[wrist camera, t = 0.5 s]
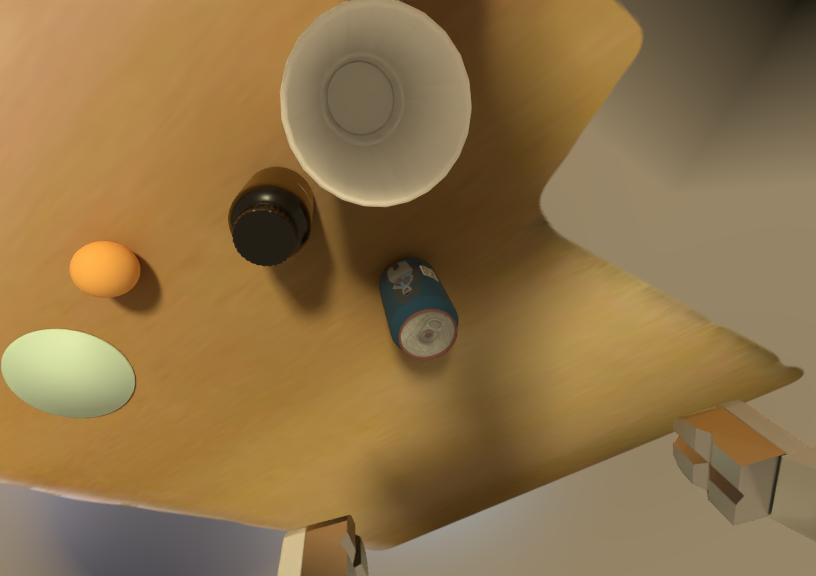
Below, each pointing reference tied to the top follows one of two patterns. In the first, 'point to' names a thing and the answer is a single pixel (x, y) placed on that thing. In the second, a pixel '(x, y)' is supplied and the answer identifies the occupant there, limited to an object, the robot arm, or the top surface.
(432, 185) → the cup
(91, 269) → the ball
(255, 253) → the supplement bottle
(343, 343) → the top surface
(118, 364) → the pale green disc
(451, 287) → the top surface
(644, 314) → the top surface
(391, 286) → the soda can
